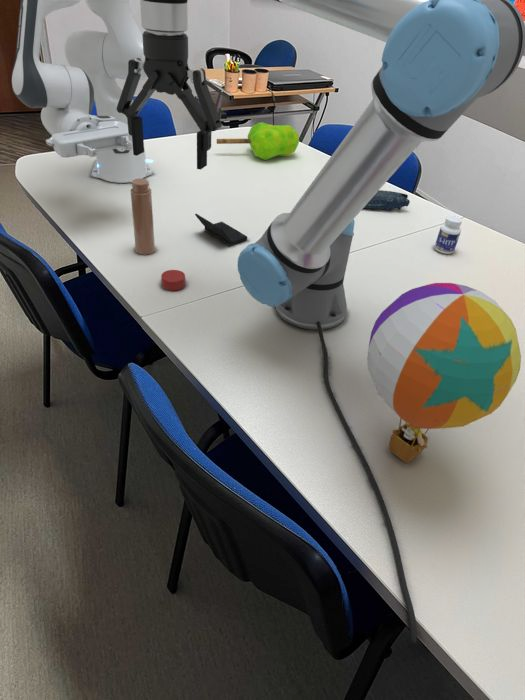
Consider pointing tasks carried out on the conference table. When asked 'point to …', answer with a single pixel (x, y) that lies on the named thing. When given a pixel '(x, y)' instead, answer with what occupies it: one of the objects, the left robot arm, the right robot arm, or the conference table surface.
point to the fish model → (388, 200)
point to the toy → (441, 360)
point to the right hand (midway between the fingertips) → (169, 160)
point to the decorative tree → (269, 140)
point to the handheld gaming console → (223, 231)
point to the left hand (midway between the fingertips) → (112, 149)
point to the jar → (142, 216)
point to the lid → (173, 280)
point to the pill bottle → (448, 235)
